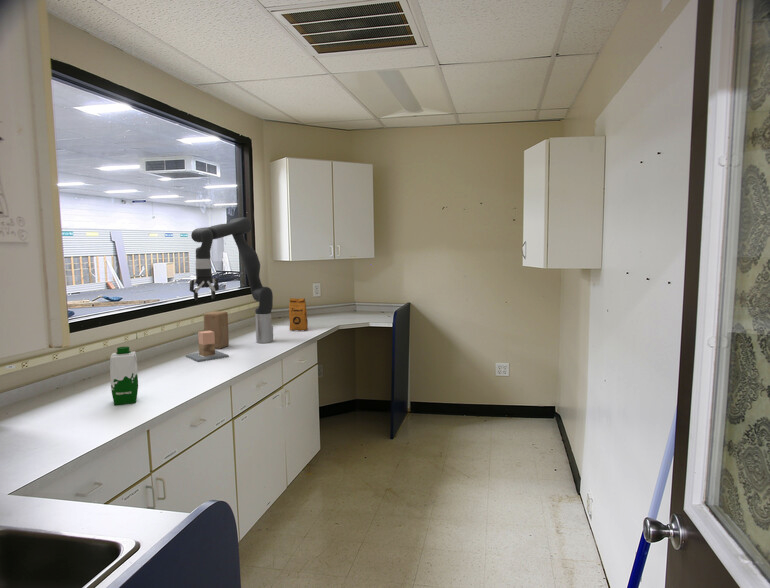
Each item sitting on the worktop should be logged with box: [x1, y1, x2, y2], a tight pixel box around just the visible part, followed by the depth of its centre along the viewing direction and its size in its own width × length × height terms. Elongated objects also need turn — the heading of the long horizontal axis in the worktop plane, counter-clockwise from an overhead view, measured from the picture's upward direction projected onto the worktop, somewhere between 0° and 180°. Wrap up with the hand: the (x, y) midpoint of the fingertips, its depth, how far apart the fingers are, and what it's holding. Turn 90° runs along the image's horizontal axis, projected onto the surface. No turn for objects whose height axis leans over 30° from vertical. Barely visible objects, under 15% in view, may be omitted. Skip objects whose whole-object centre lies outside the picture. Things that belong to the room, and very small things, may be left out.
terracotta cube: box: [197, 330, 215, 345], centre depth 252 cm, size 6×6×6 cm
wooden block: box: [203, 310, 230, 350], centre depth 276 cm, size 10×10×20 cm
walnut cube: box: [198, 343, 216, 356], centre depth 253 cm, size 6×6×6 cm
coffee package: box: [288, 297, 309, 332], centre depth 330 cm, size 10×12×22 cm
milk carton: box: [109, 346, 139, 406], centre depth 180 cm, size 9×9×20 cm
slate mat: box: [185, 349, 230, 363], centre depth 253 cm, size 16×16×1 cm
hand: (204, 299), depth 250 cm, fingers open, 8 cm apart
